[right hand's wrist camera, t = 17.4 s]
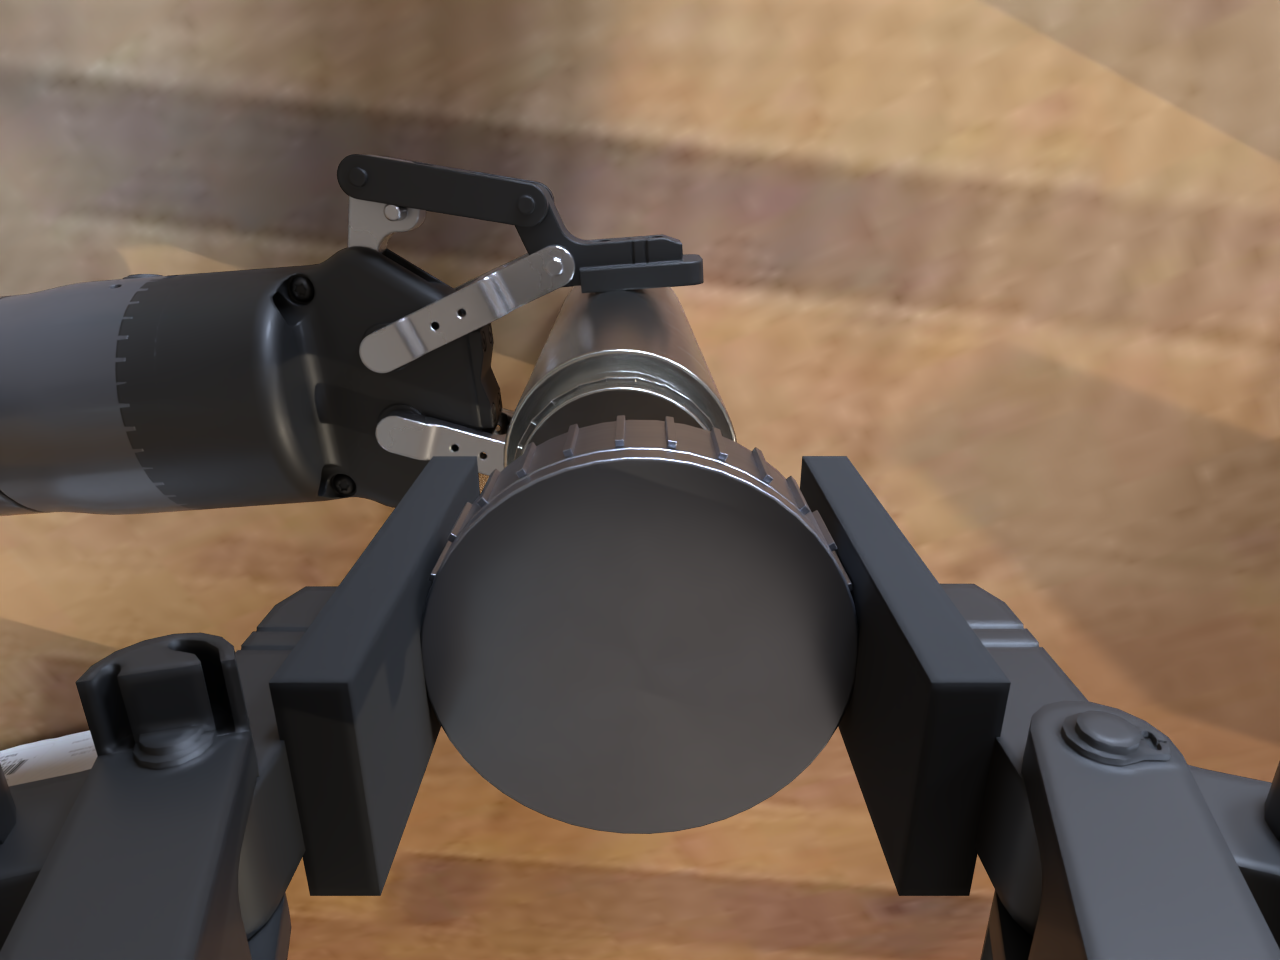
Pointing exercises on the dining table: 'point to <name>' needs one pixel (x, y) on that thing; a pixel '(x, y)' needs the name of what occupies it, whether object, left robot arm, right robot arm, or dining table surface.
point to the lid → (639, 629)
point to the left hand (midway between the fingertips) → (702, 357)
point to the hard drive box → (48, 758)
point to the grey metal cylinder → (616, 369)
